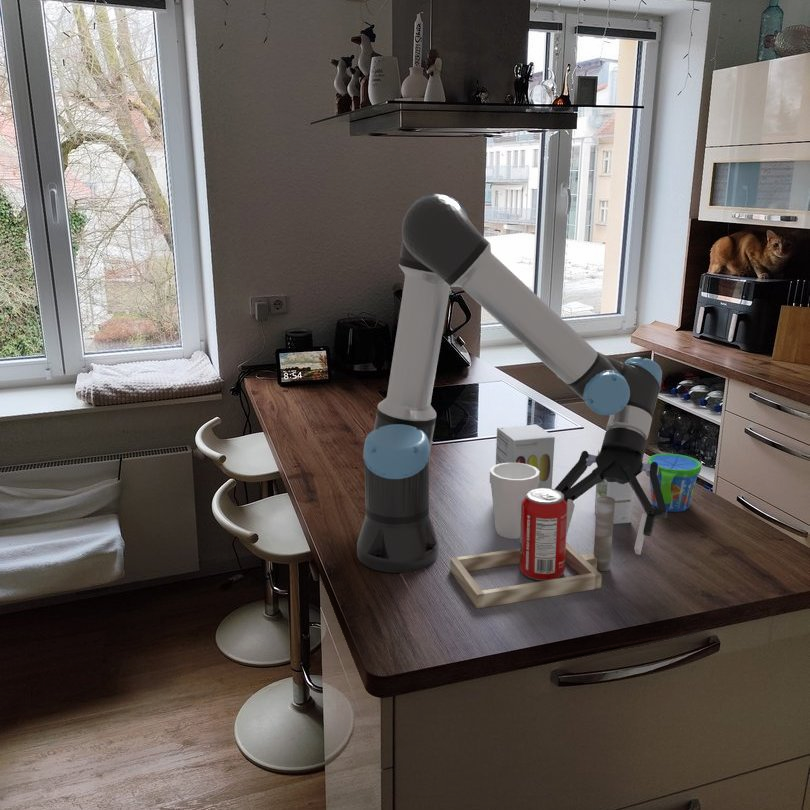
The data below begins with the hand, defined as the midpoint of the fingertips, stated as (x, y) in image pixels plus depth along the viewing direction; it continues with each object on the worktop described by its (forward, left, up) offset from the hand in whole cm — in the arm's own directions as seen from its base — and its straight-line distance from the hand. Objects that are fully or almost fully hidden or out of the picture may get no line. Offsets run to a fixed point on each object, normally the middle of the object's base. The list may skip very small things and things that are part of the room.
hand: (598, 543), depth 133 cm
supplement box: (0, +31, -6) cm, 31 cm away
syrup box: (+15, +20, -6) cm, 25 cm away
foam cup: (-7, +20, -6) cm, 22 cm away
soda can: (-9, +3, -6) cm, 11 cm away
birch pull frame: (-10, +2, -6) cm, 12 cm away
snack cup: (+30, +22, -6) cm, 37 cm away
